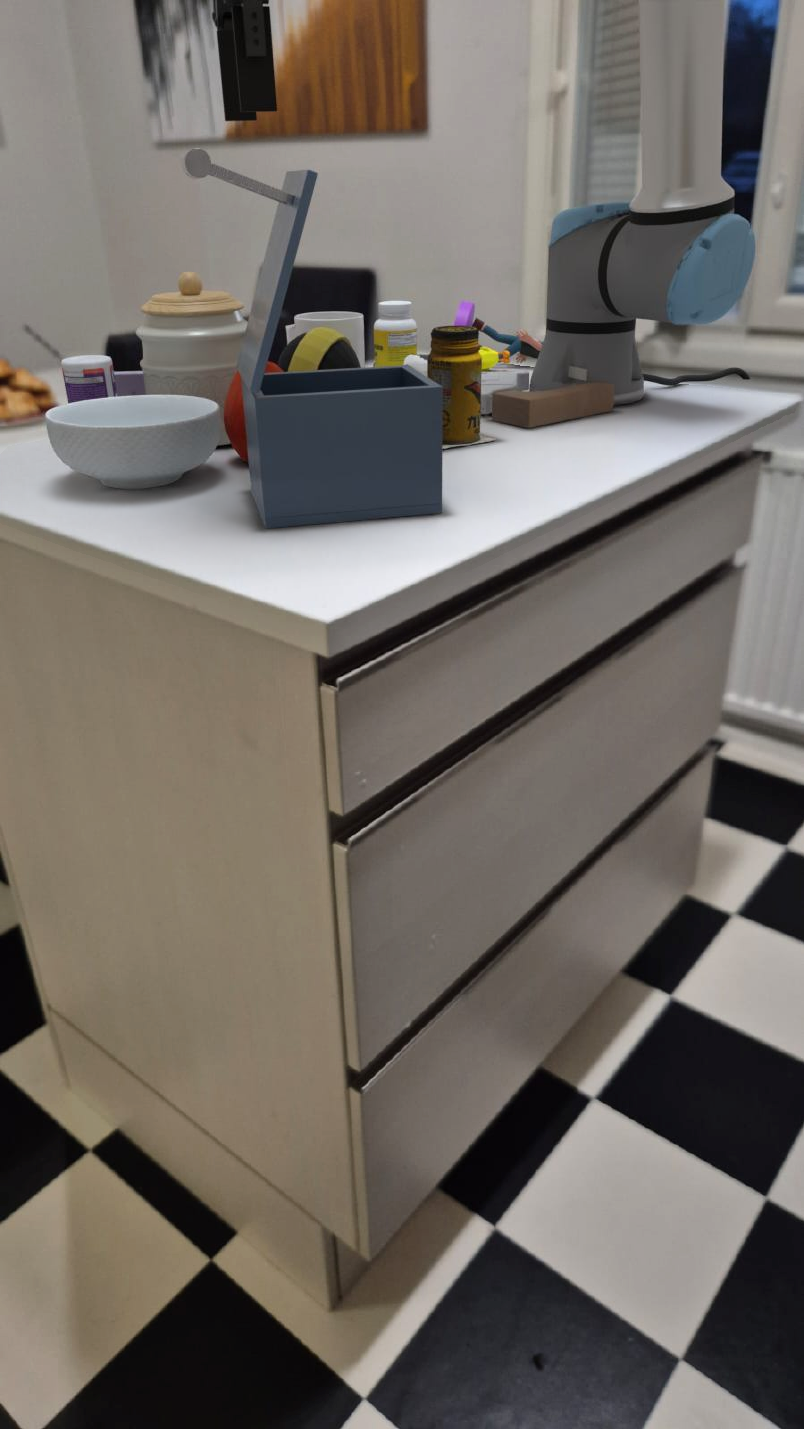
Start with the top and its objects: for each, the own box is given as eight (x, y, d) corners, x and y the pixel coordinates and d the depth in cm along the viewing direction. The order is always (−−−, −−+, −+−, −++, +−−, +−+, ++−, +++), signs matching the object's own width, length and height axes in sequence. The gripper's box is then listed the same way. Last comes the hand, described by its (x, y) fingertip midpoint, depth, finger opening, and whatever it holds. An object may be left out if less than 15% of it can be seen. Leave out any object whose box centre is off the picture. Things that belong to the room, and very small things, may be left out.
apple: (311, 466, 104) (305, 358, 99) (233, 473, 102) (222, 363, 97) (296, 448, 111) (290, 347, 106) (222, 454, 109) (212, 352, 104)
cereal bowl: (253, 484, 98) (246, 411, 94) (85, 513, 90) (72, 434, 87) (189, 451, 110) (181, 385, 107) (38, 473, 103) (24, 403, 99)
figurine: (445, 369, 155) (558, 393, 153) (456, 306, 150) (573, 331, 148) (455, 355, 162) (563, 378, 161) (466, 295, 157) (577, 318, 156)
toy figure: (516, 350, 148) (442, 363, 146) (516, 374, 150) (443, 387, 148) (498, 339, 154) (426, 352, 151) (499, 363, 156) (427, 375, 153)
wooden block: (528, 428, 117) (613, 411, 125) (529, 399, 116) (615, 384, 124) (491, 420, 122) (575, 404, 130) (491, 393, 120) (576, 378, 128)
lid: (295, 174, 84) (186, 131, 80) (318, 173, 74) (194, 123, 70) (244, 370, 90) (141, 337, 87) (259, 394, 80) (142, 358, 77)
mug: (379, 403, 132) (377, 314, 127) (334, 414, 126) (329, 321, 121) (316, 393, 139) (311, 308, 134) (269, 403, 133) (263, 315, 128)
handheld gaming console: (530, 416, 123) (528, 391, 136) (530, 392, 122) (529, 370, 135) (440, 417, 124) (447, 392, 138) (440, 394, 123) (447, 371, 136)
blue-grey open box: (410, 479, 98) (408, 364, 93) (442, 513, 88) (442, 386, 83) (251, 492, 95) (240, 374, 90) (265, 528, 85) (254, 398, 80)
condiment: (495, 441, 112) (499, 328, 107) (434, 452, 108) (434, 335, 103) (457, 429, 118) (458, 322, 112) (398, 439, 114) (396, 328, 108)
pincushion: (416, 394, 138) (379, 405, 137) (407, 349, 135) (369, 359, 134) (450, 403, 128) (410, 415, 127) (442, 354, 125) (401, 366, 124)
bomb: (260, 423, 123) (366, 468, 119) (255, 346, 113) (370, 392, 110) (306, 374, 128) (409, 415, 125) (305, 297, 119) (415, 339, 116)
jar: (207, 419, 124) (190, 265, 116) (285, 431, 117) (273, 269, 109) (126, 440, 115) (102, 274, 106) (206, 454, 108) (186, 278, 100)
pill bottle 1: (49, 360, 107) (65, 450, 111) (87, 363, 105) (101, 455, 109) (85, 353, 111) (99, 441, 116) (122, 356, 109) (134, 445, 113)
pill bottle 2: (373, 380, 147) (371, 300, 142) (414, 379, 148) (413, 299, 143) (377, 388, 142) (374, 305, 137) (419, 386, 143) (419, 304, 137)
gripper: (160, -179, 81) (193, 124, 91) (173, -308, 59) (214, 107, 69) (253, -175, 82) (275, 123, 92) (297, -299, 61) (320, 106, 71)
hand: (249, 117), depth 81 cm, fingers open, 13 cm apart
